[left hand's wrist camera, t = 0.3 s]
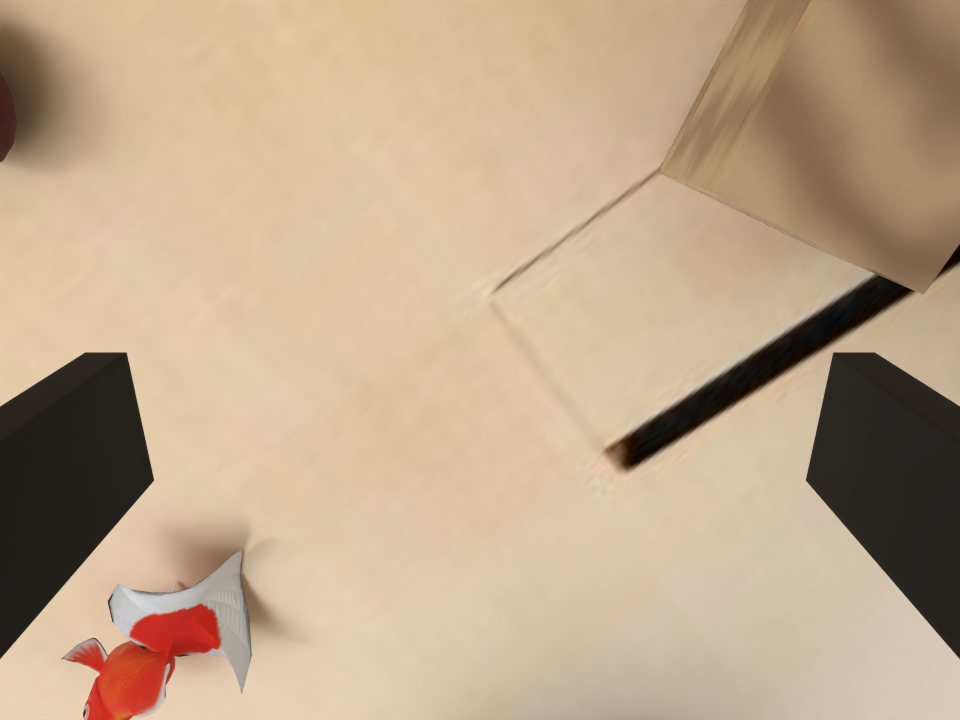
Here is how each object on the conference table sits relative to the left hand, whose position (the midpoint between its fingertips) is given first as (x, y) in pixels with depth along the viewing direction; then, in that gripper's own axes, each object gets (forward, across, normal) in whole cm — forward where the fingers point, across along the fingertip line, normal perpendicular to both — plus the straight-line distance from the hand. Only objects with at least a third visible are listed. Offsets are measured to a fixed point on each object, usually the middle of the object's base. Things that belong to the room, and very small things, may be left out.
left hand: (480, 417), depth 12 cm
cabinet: (+28, -19, -8) cm, 34 cm away
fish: (+27, +22, +29) cm, 45 cm away
